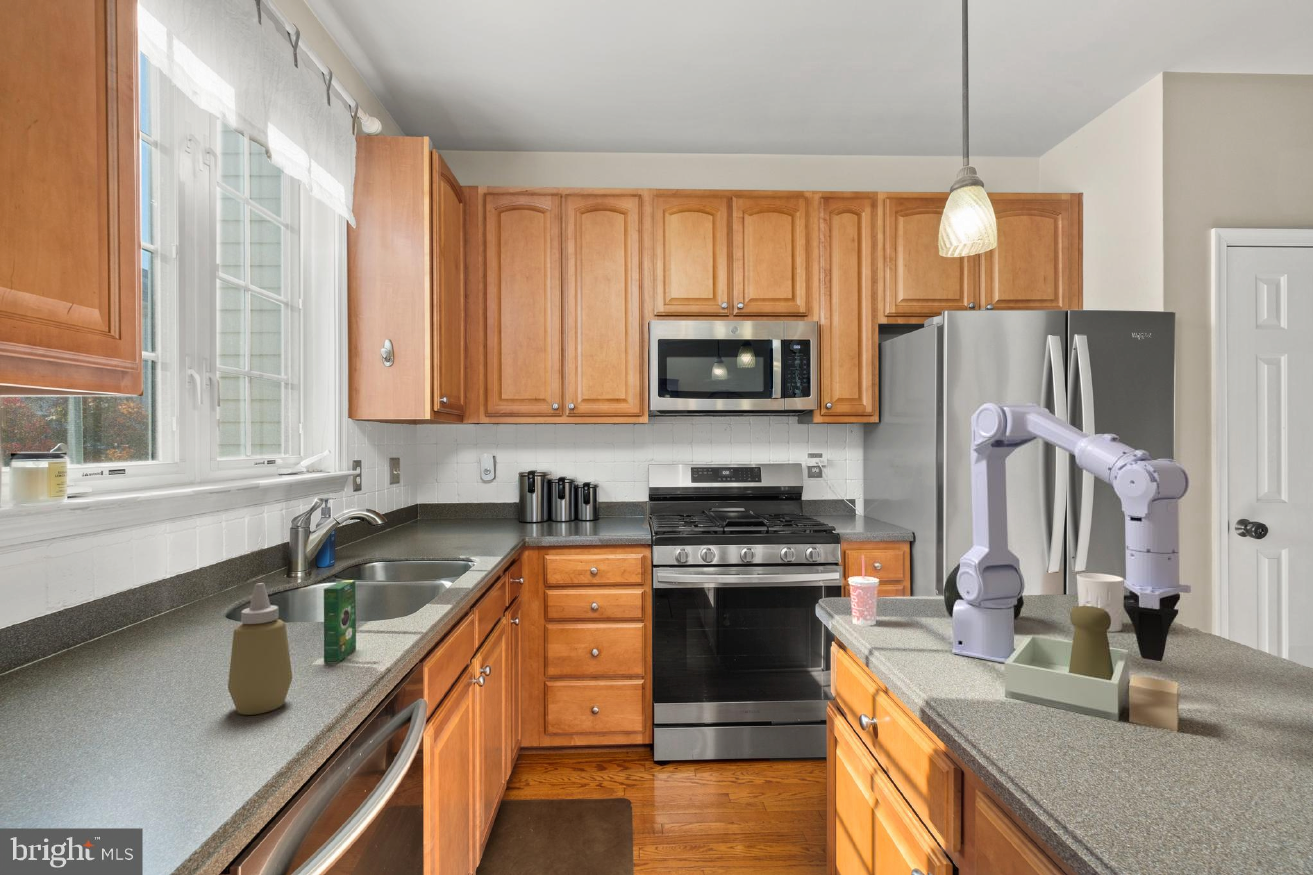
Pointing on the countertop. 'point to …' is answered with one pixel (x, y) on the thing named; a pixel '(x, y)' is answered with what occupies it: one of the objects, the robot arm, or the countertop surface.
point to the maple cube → (1153, 702)
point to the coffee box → (339, 621)
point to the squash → (953, 595)
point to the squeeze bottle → (259, 658)
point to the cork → (1091, 643)
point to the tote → (1064, 679)
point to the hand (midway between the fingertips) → (1153, 651)
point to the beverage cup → (863, 598)
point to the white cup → (1103, 595)
